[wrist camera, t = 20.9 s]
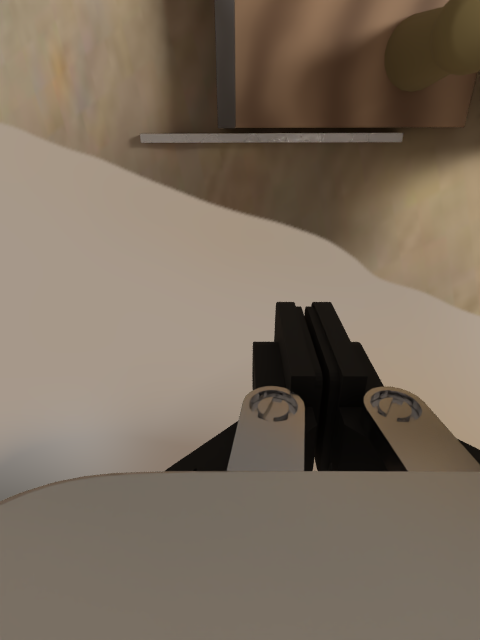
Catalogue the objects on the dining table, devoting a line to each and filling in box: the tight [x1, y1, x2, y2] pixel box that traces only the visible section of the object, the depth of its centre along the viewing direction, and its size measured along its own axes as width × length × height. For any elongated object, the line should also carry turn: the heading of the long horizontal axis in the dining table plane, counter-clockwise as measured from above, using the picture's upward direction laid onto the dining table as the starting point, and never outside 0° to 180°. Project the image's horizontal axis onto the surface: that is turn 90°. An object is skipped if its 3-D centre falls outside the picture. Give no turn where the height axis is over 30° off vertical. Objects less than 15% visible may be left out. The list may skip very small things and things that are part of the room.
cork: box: [384, 0, 480, 92], centre depth 30 cm, size 6×6×11 cm
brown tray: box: [215, 0, 477, 128], centre depth 33 cm, size 24×12×6 cm, turn 90°
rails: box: [140, 133, 403, 143], centre depth 35 cm, size 26×15×2 cm, turn 90°
